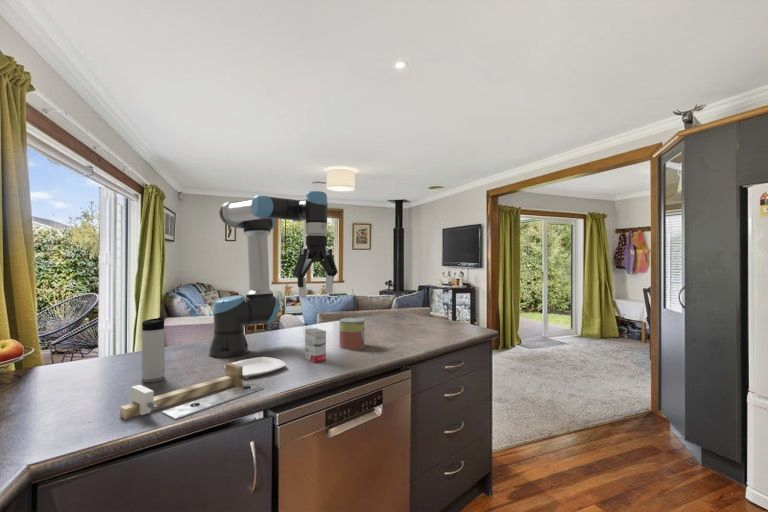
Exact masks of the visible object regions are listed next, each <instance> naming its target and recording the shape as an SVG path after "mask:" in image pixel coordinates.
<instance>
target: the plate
mask: <svg viewBox="0 0 768 512" xmlns="http://www.w3.org/2000/svg"><path fill="white" fill-rule="evenodd" d="M231 363H232V364H235V365H239V366H242V367H243V376H246V377H248V378H250V377H258V376H262V375H266V374H269V373H273V372H276V371H279V370H280V369H281V368H284V367H287V364H286V363H285V362H284V361H283V360H281V359H278V358H275V357H268V356H260V357H259V356H257V357H252V358H246V359H240V360H238V361H234V362H231ZM223 366H224V368H225V364H224V365H223Z"/></svg>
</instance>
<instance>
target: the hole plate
mask: <svg viewBox="0 0 768 512" xmlns="http://www.w3.org/2000/svg"><path fill="white" fill-rule="evenodd" d="M264 389H265V387H264V386H262V385H258V384H254V383H252V382H248V383H244V384H243V385H242V386H238V387H236V386H234V387H233V388H230V389H227V390H222V391H220V392H218V393H214V394H211V395H209V396H205V397H203V398H202V397H201V398H199V399H196V400H193V401H190V402H187V403H184V404H181V405H177V406H175V407H171V408H169V409H165V410H162V411H161V413H162V414H163V415H165V416H167V417H169V418H171V419H173V420H179V419H182V418H185V417H187V416H190V415H193V414H196V413H199V412H202V411H204V410H206V409H207V410H208V409H210V408H213V407H215V406H219V405H221V404H224V403H227V402H230V401H233V400H236V399H238V398H239V399H240V397H244V396H246V395H250V394H252V393H256V392H258V391H261V390H264Z"/></svg>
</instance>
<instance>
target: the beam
mask: <svg viewBox="0 0 768 512" xmlns="http://www.w3.org/2000/svg"><path fill="white" fill-rule="evenodd" d="M232 363H233V362H228V363H225V364H224V365H225V367H224V369H225V370H224V371H225V372H224V373H225V375H224V376H222V377H217V378H213V379H210V380H207V381H204V382H201V383H195V384H193V385H190V386H185V387H183V388H182V387H181V388H180V389H176V390H173V391H169V392H165V393H162V394H159V395H156V396H154V404H156V405H158V409H157V410H159V409H162V408H165V407H169V406H172V405H174V404H179V403H182V402H185V401H187V400H191V399H193V398H194V399H195V398H197V397H200V396H203V395H207V394H209V393H213V392H217V391H219V390H222V389H224V388H229V387H232V386H234V387H238V386H242V385H244V384H243V381H246V382H247V381H249V377H246V376H243V367H242V366H239V365H235V364H232ZM119 409H120V414H119V415H120V417H121V418H122V419H124V420H127V419H128V420H129V419H131V418H134V417H137V416H140V415H141V414H139V404H138V403H136V402H134V403H131V402H130V403H128V404H125V405H121V406H120V408H119ZM153 411H154V410H153V409H151V412H153ZM141 416H142V415H141Z"/></svg>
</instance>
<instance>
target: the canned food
mask: <svg viewBox="0 0 768 512" xmlns="http://www.w3.org/2000/svg"><path fill="white" fill-rule="evenodd" d="M339 348H340V349H342V350H347V351H352V350H353V351H354V350H361V349H364V348H365V319H364V318H361V317H346V318H345V317H344V318H340V319H339Z"/></svg>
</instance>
